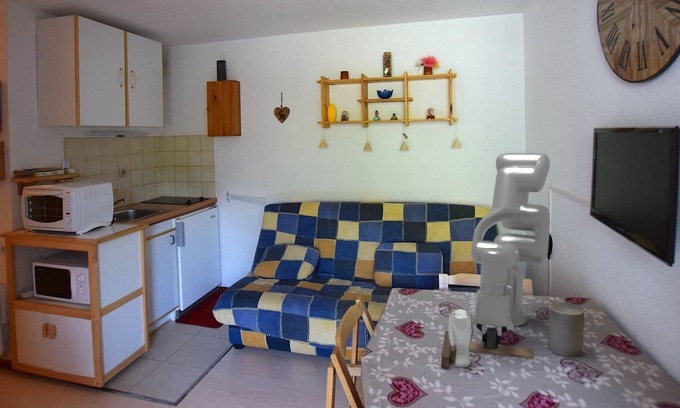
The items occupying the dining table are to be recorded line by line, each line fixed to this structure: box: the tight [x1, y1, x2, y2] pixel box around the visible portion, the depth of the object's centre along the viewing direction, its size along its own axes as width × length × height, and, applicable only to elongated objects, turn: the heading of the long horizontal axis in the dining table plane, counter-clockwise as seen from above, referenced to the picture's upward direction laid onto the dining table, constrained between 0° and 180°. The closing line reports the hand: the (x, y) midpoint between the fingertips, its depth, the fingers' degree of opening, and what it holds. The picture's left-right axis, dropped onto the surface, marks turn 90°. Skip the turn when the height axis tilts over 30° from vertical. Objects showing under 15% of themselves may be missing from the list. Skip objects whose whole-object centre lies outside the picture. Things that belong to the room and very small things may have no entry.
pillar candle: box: [547, 301, 585, 358], centre depth 134 cm, size 10×10×15 cm
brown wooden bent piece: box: [440, 326, 534, 369], centre depth 129 cm, size 26×18×7 cm
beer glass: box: [447, 309, 474, 368], centre depth 127 cm, size 7×7×15 cm
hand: (490, 344), depth 135 cm, fingers closed on brown wooden bent piece, 2 cm apart
